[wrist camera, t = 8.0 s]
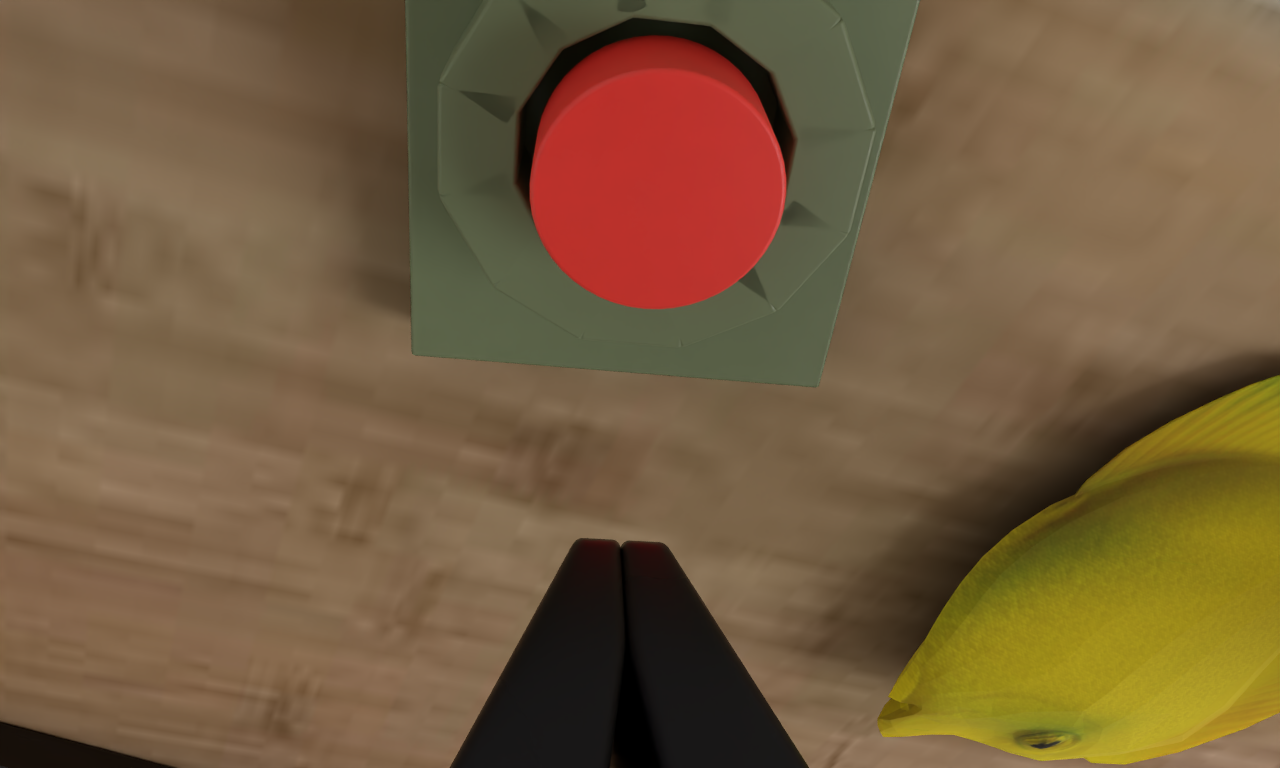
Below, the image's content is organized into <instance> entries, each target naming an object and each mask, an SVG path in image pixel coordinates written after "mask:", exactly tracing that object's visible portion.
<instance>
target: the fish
mask: <svg viewBox="0 0 1280 768" xmlns="http://www.w3.org/2000/svg"><path fill="white" fill-rule="evenodd" d="M888 697H890V698H891V699H890V700H889V701H888V702H887V703H886V704H885V706H884V708H883V710H882V711H881V713H880V715H879V717H878V727H879V730H880V732H881V734H882V736H883V737H904V736H917V735H930V734H940V735H956V736H960V737H963V738H967V739H970V740H974V741H977V742H981V743H984V744H986V745H989V746H992V747H995V748H998V749H1000V750H1003V751H1006V752H1009V753H1013V754H1016V755H1020V756H1024V757H1028V758H1032V759H1035V760H1039V761H1046V760H1060V759H1073V758H1085V759H1086V760H1088V761H1089V762H1091V763H1106V764H1129V763H1133V762H1138V761H1142V760H1147V759H1151V758H1155V757H1160V756H1164V755H1168V754H1173V753H1177V752H1181V751H1183V750H1186V749H1189V748H1192V747H1195V746H1197V745H1200V744H1203V743H1206V742H1209V741H1212V740H1214V739H1217V738H1220V737H1223V736H1226V735H1228V734H1231V733H1234V732H1237V731H1240V730H1242V729H1245V728H1247V727H1249V726H1251V725H1254V724H1256V723H1258V722H1260V721H1262V720H1264V719H1266V718H1269V717H1271V716H1273V715H1275V714H1277V713H1279V712H1280V375H1277V376H1274V377H1271V378H1268V379H1265V380H1262V381H1259V382H1256V383H1253V384H1251V385H1248V386H1246V387H1243V388H1241V389H1239V390H1237V391H1234V392H1232V393H1230V394H1227V395H1225V396H1223V397H1221V398H1218V399H1216V400H1214V401H1212V402H1210V403H1208V404H1205V405H1203V406H1201V407H1199V408H1197V409H1195V410H1193V411H1191V412H1189V413H1187V414H1185V415H1183V416H1181V417H1178V418H1176V419H1174V420H1172V421H1170V422H1169V423H1167V424H1165V425H1164V426H1162V427H1160V428H1159V429H1157V430H1155V431H1154V432H1152V433H1150V434H1148V435H1147V436H1145V437H1143V438H1142V439H1140V440H1138V441H1137V442H1135V443H1133V444H1132V445H1130V446H1128V447H1127V448H1125V449H1124V450H1123V451H1122V452H1120V453H1119V454H1118V455H1117V456H1115V457H1114V458H1113V459H1112V460H1110V461H1109V462H1108V463H1107V464H1106V465H1104V466H1103V467H1102V468H1101V469H1099V470H1098V471H1097V472H1096V473H1094V474H1093V475H1092V476H1091V477H1089V478H1088V479H1087V480H1086V481H1085V482H1084V483H1083V485H1082V486H1081V487H1080V489H1079V490H1078V491H1077V493H1076V494H1075V495H1073V496H1071V497H1068V498H1066V499H1064V500H1061V501H1059V502H1057V503H1054V504H1052V505H1050V506H1049V507H1047V508H1046V509H1044V510H1043V511H1041V512H1040V513H1038V514H1036V515H1035V516H1033V517H1032V518H1030V519H1029V520H1027V521H1026V522H1024V523H1023V524H1021V525H1019V526H1018V527H1016V528H1015V529H1013V530H1012V531H1011V532H1010V533H1009V534H1007V535H1006V536H1005V537H1004V538H1003V539H1002V540H1001V541H1000V542H998V543H997V544H996V545H995V546H994V547H993V548H992V549H991V550H989V551H988V552H987V553H986V554H985V555H984V556H983V557H982V558H981V559H980V560H979V561H978V563H977V564H976V565H975V566H974V567H973V569H972V570H971V571H970V572H969V573H968V575H967V576H966V577H965V578H964V579H963V581H962V582H961V583H960V584H959V586H958V587H957V589H956V590H955V592H954V593H953V595H952V596H951V598H950V599H949V601H948V602H947V604H946V605H945V607H944V608H943V610H942V611H941V613H940V615H939V616H938V618H937V620H936V621H935V623H934V625H933V626H932V628H931V630H930V632H929V634H928V635H927V637H926V638H925V640H924V641H923V642H922V644H921V645H920V646H919V648H918V649H917V650H916V652H915V653H914V655H913V656H912V658H911V659H910V661H909V662H908V664H907V665H906V667H905V668H904V670H903V671H902V673H901V674H900V676H899V677H898V679H897V681H896V683H895V685H894V687H893V689H892V690H891V692H890V694H889V696H888Z"/></svg>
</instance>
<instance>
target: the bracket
mask: <svg viewBox="0 0 1280 768" xmlns="http://www.w3.org/2000/svg"><path fill="white" fill-rule="evenodd" d="M0 768H170V767H166V766H162V765H159V764H155V763H151V762H147V761H143V760H140V759H136V758H132V757H128V756H124V755H120V754H117V753H113V752H109V751H105V750H101V749H98V748H94V747H90V746H86V745H82V744H79V743H75V742H71V741H67V740H63V739H60V738H56V737H52V736H48V735H44V734H41V733H37V732H33V731H29V730H25V729H22V728H18V727H14V726H10V725H6V724H3V723H0Z"/></svg>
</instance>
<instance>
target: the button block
mask: <svg viewBox="0 0 1280 768" xmlns="http://www.w3.org/2000/svg"><path fill="white" fill-rule="evenodd" d="M919 2H920V0H405V21H406V75H407V130H408V185H409V239H410V294H411V349H412V354H413V355H417V356H430V357H442V358H455V359H467V360H480V361H492V362H505V363H517V364H530V365H542V366H555V367H567V368H580V369H592V370H605V371H617V372H630V373H642V374H655V375H667V376H680V377H693V378H705V379H718V380H730V381H743V382H755V383H768V384H780V385H793V386H805V387H818V386H819V383H820V380H821V376H822V372H823V368H824V364H825V361H826V357H827V353H828V349H829V345H830V341H831V338H832V334H833V330H834V326H835V322H836V319H837V315H838V311H839V307H840V303H841V300H842V296H843V292H844V288H845V284H846V281H847V277H848V273H849V269H850V265H851V261H852V258H853V254H854V250H855V246H856V242H857V239H858V235H859V231H860V227H861V223H862V220H863V216H864V212H865V208H866V204H867V200H868V197H869V193H870V189H871V185H872V181H873V178H874V174H875V170H876V166H877V162H878V159H879V155H880V151H881V147H882V143H883V140H884V136H885V132H886V128H887V124H888V120H889V117H890V113H891V109H892V105H893V101H894V98H895V94H896V90H897V86H898V82H899V79H900V75H901V71H902V67H903V63H904V60H905V56H906V52H907V48H908V44H909V40H910V37H911V33H912V29H913V25H914V21H915V18H916V14H917V10H918V6H919ZM648 35H661V36H673V37H678V38H684V39H687V40H690V41H693V42H696V43H700V44H702V45H704V46H706V47H708V48H710V49H712V50H714V51H716V52H717V53H719V54H720V55H722V56H723V57H725V58H726V59H728V60H729V61H730V62H731V63H732V64H733V65H734V66H736V67H737V68H738V69H739V70H740V71H741V72H742V74H743V75H744V76H745V77H746V78H747V79H748V81H749V82H750V83H751V85H752V87H753V88H754V90H755V91H756V93H757V95H758V97H759V99H760V101H761V103H762V106H763V108H764V110H765V113H766V115H767V117H768V120H769V122H770V124H771V127H772V129H773V131H774V134H775V136H776V139H777V141H778V143H779V146H780V149H781V152H782V156H783V159H784V164H785V172H786V198H785V205H784V211H783V214H782V218H781V221H780V224H779V227H778V229H777V231H776V234H775V236H774V238H773V240H772V242H771V243H770V245H769V247H768V248H767V250H766V252H765V253H764V254H763V256H762V257H761V258H760V259H759V261H758V262H757V263H756V264H755V266H754V267H753V268H752V269H751V270H750V271H749V272H748V273H747V274H746V275H745V276H743V277H742V278H741V279H740V280H738V281H737V282H736V283H734V284H733V285H732V286H730V287H729V288H727V289H725V290H724V291H722V292H720V293H719V294H717V295H714V296H712V297H710V298H708V299H706V300H703V301H700V302H697V303H694V304H691V305H686V306H681V307H676V308H667V309H642V308H635V307H628V306H624V305H621V304H617V303H613V302H611V301H608V300H606V299H603V298H601V297H598V296H597V295H595V294H593V293H591V292H589V291H587V290H586V289H584V288H583V287H581V286H580V285H579V284H577V283H576V282H574V281H573V280H572V279H571V278H570V277H569V276H568V275H567V274H565V273H564V272H563V271H562V270H561V269H560V268H559V266H558V265H557V264H556V263H555V262H554V260H553V259H552V258H551V256H550V255H549V253H548V252H547V250H546V248H545V247H544V245H543V243H542V241H541V239H540V237H539V235H538V232H537V230H536V227H535V223H534V220H533V217H532V211H531V205H530V176H531V168H532V162H533V156H534V150H535V144H536V139H537V133H538V128H539V124H540V120H541V116H542V113H543V111H544V109H545V106H546V104H547V101H548V99H549V98H550V96H551V94H552V93H553V91H554V89H555V88H556V86H557V85H558V84H559V82H560V81H561V80H562V79H563V77H564V76H565V75H566V74H567V73H568V72H569V71H570V70H571V69H572V68H573V67H574V66H575V65H576V64H577V63H579V62H580V61H581V60H583V59H584V58H585V57H587V56H588V55H590V54H591V53H593V52H595V51H597V50H598V49H600V48H602V47H604V46H606V45H609V44H612V43H614V42H617V41H620V40H624V39H628V38H632V37H638V36H648Z"/></svg>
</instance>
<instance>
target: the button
mask: <svg viewBox="0 0 1280 768" xmlns="http://www.w3.org/2000/svg"><path fill="white" fill-rule="evenodd" d="M785 198H786V172H785V164H784V159H783V156H782V152H781V149H780V146H779V143H778V141H777V139H776V136H775V134H774V131H773V129H772V127H771V124H770V122H769V120H768V117H767V115H766V113H765V110H764V108H763V106H762V103H761V101H760V99H759V97H758V95H757V93H756V91H755V90H754V88H753V87H752V85H751V83H750V82H749V81H748V79H747V78H746V77H745V76H744V75H743V74H742V72H741V71H740V70H739V69H738V68H737V67H736V66H734V65H733V64H732V63H731V62H730V61H729V60H728V59H726V58H725V57H723V56H722V55H720V54H719V53H717V52H716V51H714V50H712V49H710V48H708V47H706V46H704V45H702V44H700V43H696V42H693V41H690V40H687V39H684V38H678V37H673V36H661V35H648V36H638V37H632V38H628V39H624V40H620V41H617V42H614V43H612V44H609V45H606V46H604V47H602V48H600V49H598V50H597V51H595V52H593V53H591V54H590V55H588V56H587V57H585V58H584V59H583V60H581V61H580V62H579V63H577V64H576V65H575V66H574V67H573V68H572V69H571V70H570V71H569V72H568V73H567V74H566V75H565V76H564V77H563V79H562V80H561V81H560V82H559V84H558V85H557V86H556V88H555V89H554V91H553V93H552V94H551V96H550V98H549V99H548V101H547V104H546V106H545V109H544V111H543V113H542V116H541V120H540V124H539V128H538V133H537V139H536V144H535V150H534V156H533V162H532V168H531V176H530V205H531V211H532V217H533V220H534V223H535V227H536V230H537V232H538V235H539V237H540V239H541V241H542V243H543V245H544V247H545V248H546V250H547V252H548V253H549V255H550V256H551V258H552V259H553V260H554V262H555V263H556V264H557V265H558V266H559V268H560V269H561V270H562V271H563V272H564V273H565V274H567V275H568V276H569V277H570V278H571V279H572V280H573V281H574V282H576V283H577V284H579V285H580V286H581V287H583V288H584V289H586V290H587V291H589V292H591V293H593V294H595V295H597V296H598V297H601V298H603V299H606V300H608V301H611V302H613V303H617V304H621V305H624V306H628V307H635V308H642V309H667V308H676V307H681V306H686V305H691V304H694V303H697V302H700V301H703V300H706V299H708V298H710V297H712V296H714V295H717V294H719V293H720V292H722V291H724V290H725V289H727V288H729V287H730V286H732V285H733V284H734V283H736V282H737V281H738V280H740V279H741V278H742V277H743V276H745V275H746V274H747V273H748V272H749V271H750V270H751V269H752V268H753V267H754V266H755V264H756V263H757V262H758V261H759V259H760V258H761V257H762V256H763V254H764V253H765V252H766V250H767V248H768V247H769V245H770V243H771V242H772V240H773V238H774V236H775V234H776V231H777V229H778V227H779V224H780V221H781V218H782V214H783V211H784V205H785Z"/></svg>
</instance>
